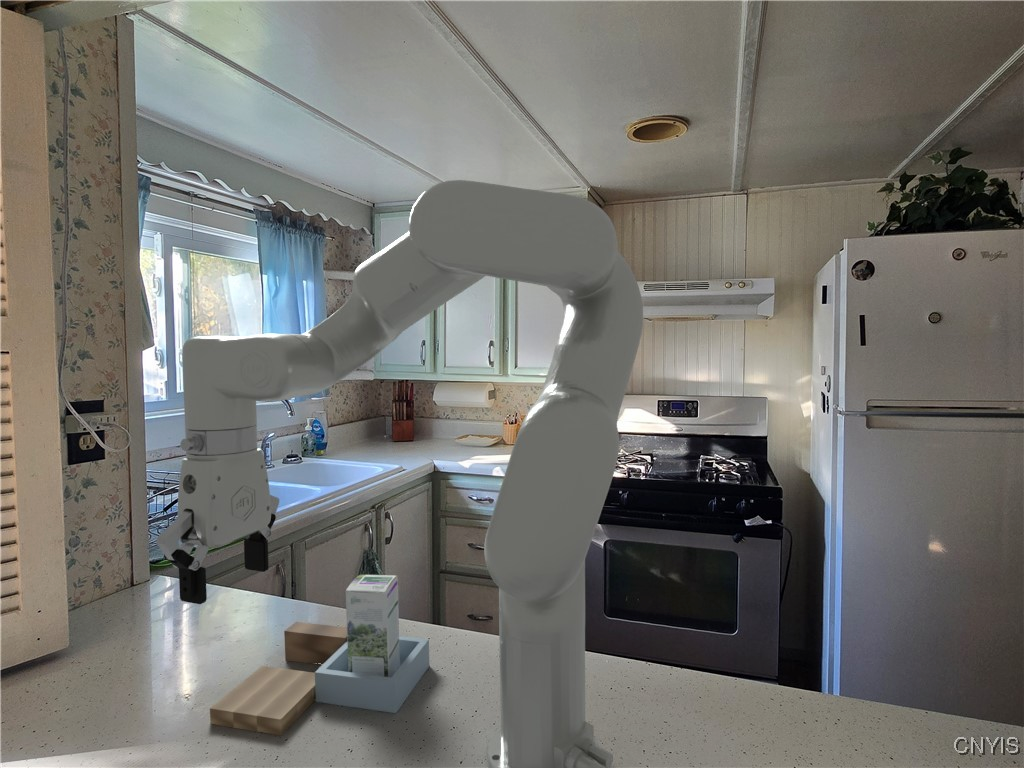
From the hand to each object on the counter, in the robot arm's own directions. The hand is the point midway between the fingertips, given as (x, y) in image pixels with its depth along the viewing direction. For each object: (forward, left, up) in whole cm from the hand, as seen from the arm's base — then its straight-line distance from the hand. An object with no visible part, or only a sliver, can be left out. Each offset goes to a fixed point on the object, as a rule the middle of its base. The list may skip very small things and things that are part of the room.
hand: (227, 584), depth 70 cm
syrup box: (-3, -18, -19) cm, 26 cm away
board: (+2, -6, -19) cm, 19 cm away
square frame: (-3, -18, -19) cm, 26 cm away
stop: (+8, -16, -19) cm, 26 cm away
